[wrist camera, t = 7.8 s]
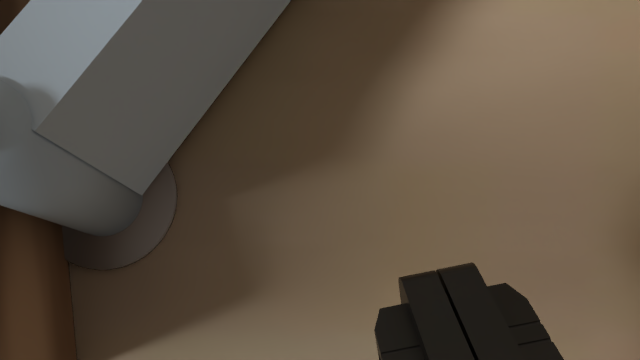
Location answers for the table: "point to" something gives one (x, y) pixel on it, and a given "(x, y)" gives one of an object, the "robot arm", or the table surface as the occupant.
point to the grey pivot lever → (111, 98)
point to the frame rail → (63, 261)
